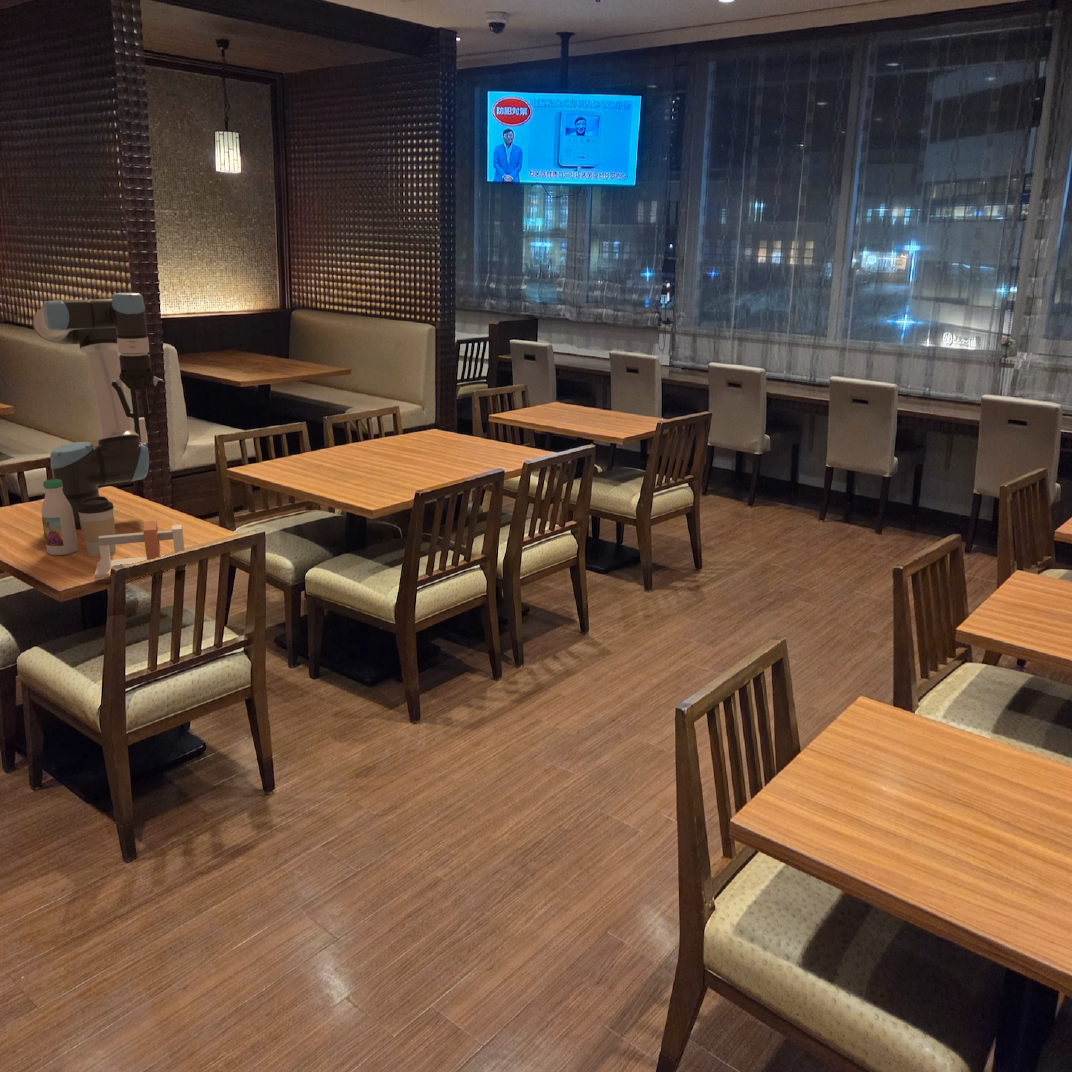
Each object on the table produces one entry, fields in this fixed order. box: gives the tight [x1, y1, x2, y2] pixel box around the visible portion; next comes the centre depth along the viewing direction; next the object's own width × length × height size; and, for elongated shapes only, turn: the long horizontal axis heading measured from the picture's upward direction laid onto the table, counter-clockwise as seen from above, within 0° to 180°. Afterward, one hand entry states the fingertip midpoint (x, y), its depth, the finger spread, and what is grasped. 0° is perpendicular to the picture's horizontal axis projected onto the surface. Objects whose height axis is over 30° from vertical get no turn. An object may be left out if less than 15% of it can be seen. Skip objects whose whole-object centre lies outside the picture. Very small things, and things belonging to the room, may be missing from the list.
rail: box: [94, 523, 188, 578], centre depth 249 cm, size 11×22×10 cm, turn 109°
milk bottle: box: [41, 478, 79, 556], centre depth 258 cm, size 8×8×20 cm
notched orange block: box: [142, 520, 161, 560], centre depth 249 cm, size 8×3×8 cm, turn 19°
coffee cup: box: [77, 495, 116, 558], centre depth 258 cm, size 9×9×15 cm
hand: (144, 442), depth 258 cm, fingers closed
